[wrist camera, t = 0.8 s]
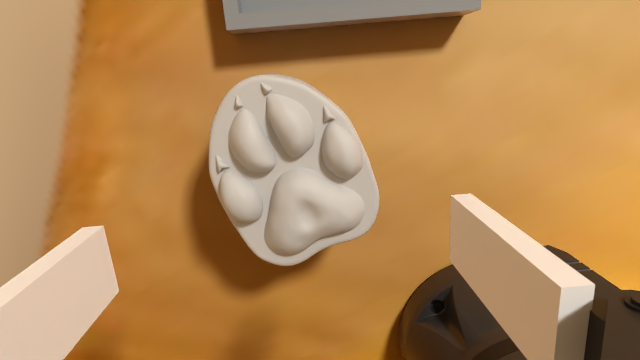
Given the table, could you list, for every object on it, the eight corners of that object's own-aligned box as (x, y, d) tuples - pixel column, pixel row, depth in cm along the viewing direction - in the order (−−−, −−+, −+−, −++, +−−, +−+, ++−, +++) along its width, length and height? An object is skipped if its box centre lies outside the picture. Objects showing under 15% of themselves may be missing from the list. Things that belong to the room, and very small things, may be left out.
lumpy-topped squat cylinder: (269, 240, 35) (260, 292, 27) (197, 105, 32) (161, 117, 24) (377, 192, 35) (401, 230, 26) (315, 49, 31) (320, 41, 23)
